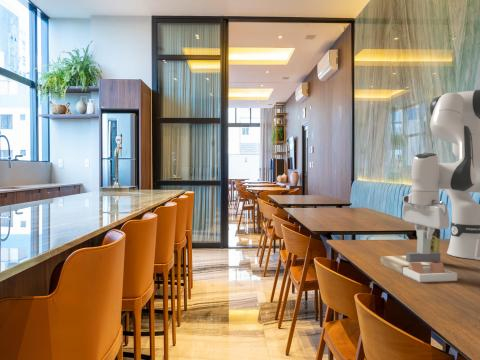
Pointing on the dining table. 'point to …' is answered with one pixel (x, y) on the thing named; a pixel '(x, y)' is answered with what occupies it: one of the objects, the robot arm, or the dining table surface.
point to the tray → (430, 275)
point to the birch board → (399, 263)
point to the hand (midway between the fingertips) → (424, 237)
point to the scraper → (423, 250)
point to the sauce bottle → (435, 241)
